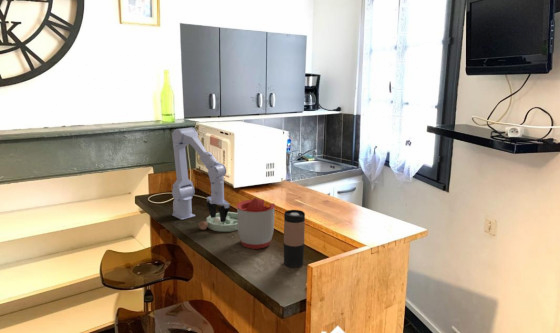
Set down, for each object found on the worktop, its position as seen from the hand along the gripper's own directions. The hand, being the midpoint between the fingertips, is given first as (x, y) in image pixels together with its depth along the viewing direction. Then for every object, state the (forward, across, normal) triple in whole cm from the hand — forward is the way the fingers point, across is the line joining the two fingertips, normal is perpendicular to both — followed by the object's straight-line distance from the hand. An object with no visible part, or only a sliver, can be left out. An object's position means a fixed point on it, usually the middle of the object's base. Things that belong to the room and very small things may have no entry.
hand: (218, 219), depth 186 cm
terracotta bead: (+4, -2, -7) cm, 8 cm away
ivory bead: (+3, 0, 0) cm, 3 cm away
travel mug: (+4, +49, -1) cm, 50 cm away
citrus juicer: (+4, +26, +1) cm, 26 cm away
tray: (+4, 0, +5) cm, 6 cm away
